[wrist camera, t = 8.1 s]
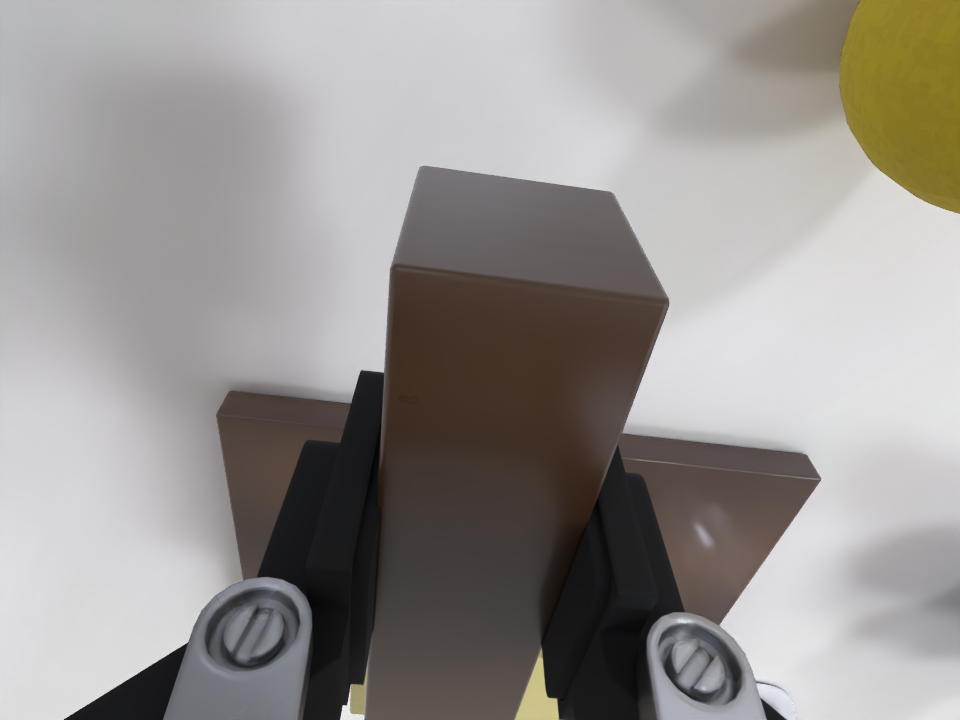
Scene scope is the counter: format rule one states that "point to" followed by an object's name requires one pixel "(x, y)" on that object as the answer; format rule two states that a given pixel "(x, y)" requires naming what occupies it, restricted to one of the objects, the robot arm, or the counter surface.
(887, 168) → the lemon
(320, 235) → the counter surface
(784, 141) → the counter surface
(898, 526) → the counter surface
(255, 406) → the board
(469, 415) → the knife
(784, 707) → the beer glass
